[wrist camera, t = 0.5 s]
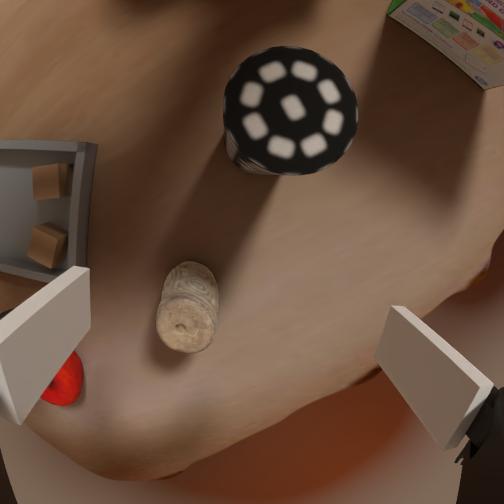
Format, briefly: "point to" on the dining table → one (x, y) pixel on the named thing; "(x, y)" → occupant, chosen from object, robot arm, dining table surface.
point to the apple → (65, 383)
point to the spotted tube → (288, 112)
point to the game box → (460, 33)
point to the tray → (43, 204)
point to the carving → (188, 308)
